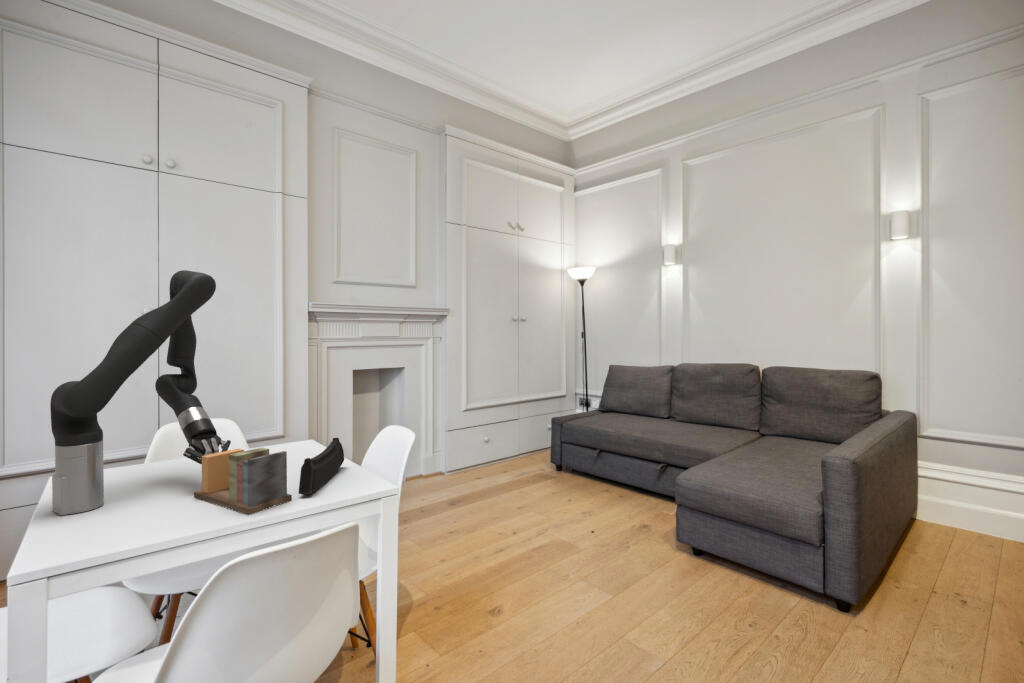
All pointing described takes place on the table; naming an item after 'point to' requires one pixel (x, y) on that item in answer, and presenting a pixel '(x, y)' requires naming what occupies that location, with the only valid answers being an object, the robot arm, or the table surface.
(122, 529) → the table surface
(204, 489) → the loose bookend
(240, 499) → the book row
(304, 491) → the magazine
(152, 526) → the table surface
